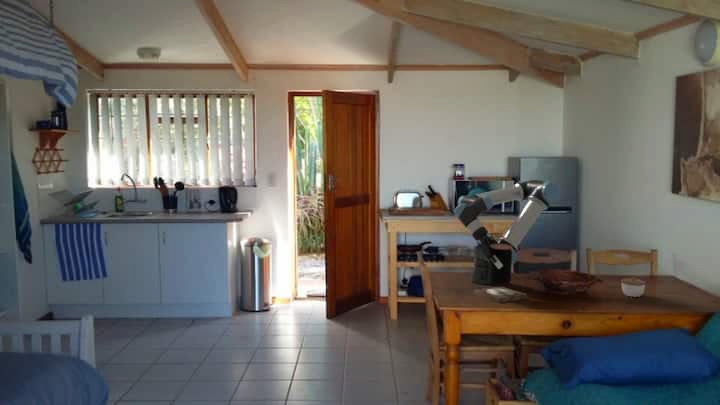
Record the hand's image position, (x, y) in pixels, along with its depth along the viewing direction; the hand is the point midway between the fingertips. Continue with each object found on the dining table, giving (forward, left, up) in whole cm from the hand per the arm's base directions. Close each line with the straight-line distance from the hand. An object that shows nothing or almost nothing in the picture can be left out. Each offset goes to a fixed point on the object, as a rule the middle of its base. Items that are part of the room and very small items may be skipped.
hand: (505, 265), depth 285 cm
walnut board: (+1, -3, -16) cm, 16 cm away
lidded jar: (-60, +25, -16) cm, 67 cm away
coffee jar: (+1, -3, -9) cm, 9 cm away
